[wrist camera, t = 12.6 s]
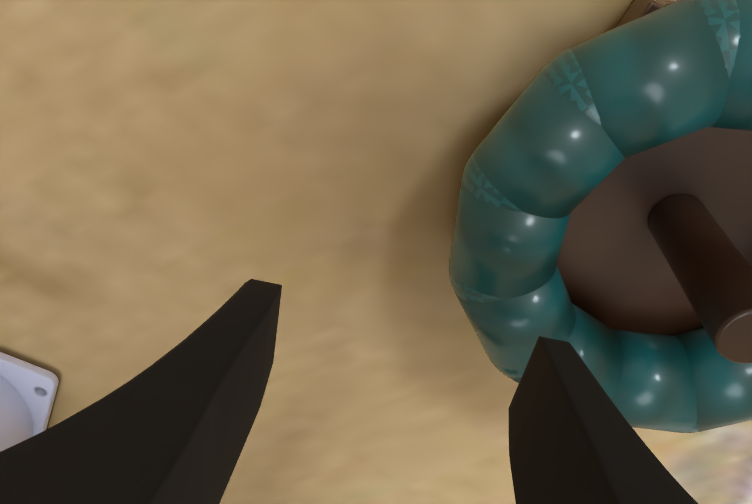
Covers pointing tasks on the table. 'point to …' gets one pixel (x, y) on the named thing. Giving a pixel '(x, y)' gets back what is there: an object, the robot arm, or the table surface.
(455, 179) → the table surface
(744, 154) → the stand
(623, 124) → the ring
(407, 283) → the table surface
